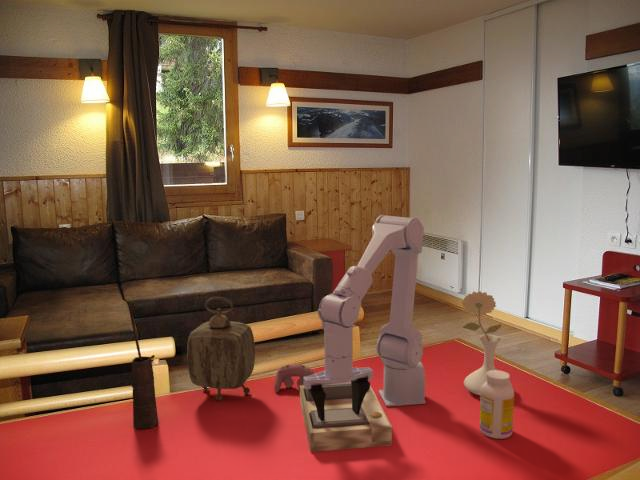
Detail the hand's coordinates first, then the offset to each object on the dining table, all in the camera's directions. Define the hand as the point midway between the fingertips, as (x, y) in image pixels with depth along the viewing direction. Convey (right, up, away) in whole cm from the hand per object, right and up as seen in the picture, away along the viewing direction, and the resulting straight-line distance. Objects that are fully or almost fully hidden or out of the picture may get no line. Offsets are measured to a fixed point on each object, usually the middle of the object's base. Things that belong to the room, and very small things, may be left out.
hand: (338, 415), depth 113 cm
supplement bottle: (+33, -4, +2) cm, 34 cm away
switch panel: (+1, -4, +7) cm, 8 cm away
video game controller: (-10, -1, +24) cm, 26 cm away
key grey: (-2, +1, +12) cm, 12 cm away
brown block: (0, -3, +1) cm, 3 cm away
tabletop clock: (-28, -2, +19) cm, 34 cm away
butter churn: (-41, -4, +7) cm, 42 cm away
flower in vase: (+37, -1, +22) cm, 42 cm away
